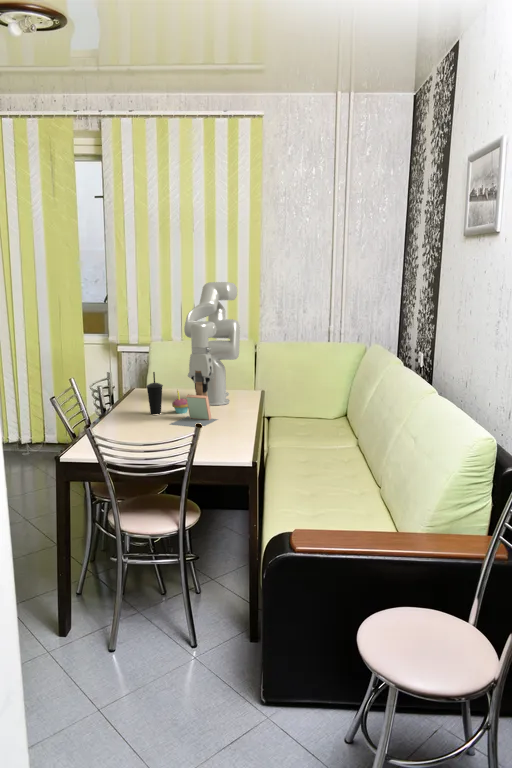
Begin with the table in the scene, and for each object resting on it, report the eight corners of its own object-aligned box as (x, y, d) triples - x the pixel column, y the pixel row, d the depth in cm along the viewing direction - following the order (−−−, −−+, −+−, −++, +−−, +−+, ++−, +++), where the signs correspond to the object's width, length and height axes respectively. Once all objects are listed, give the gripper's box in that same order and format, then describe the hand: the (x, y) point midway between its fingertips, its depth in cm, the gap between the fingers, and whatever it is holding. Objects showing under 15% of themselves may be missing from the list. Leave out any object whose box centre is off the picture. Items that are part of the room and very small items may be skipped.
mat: (187, 417, 284) (187, 416, 284) (218, 420, 278) (218, 419, 277) (168, 425, 270) (168, 424, 270) (200, 429, 263) (200, 427, 263)
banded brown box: (201, 398, 281) (200, 367, 279) (207, 398, 280) (206, 368, 277) (195, 400, 277) (194, 369, 274) (202, 400, 276) (201, 369, 273)
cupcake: (181, 416, 287) (180, 390, 284) (168, 414, 292) (167, 389, 289) (194, 412, 293) (193, 387, 291) (181, 410, 298) (180, 386, 296)
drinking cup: (161, 411, 297) (159, 370, 294) (165, 414, 290) (164, 372, 287) (146, 412, 295) (144, 371, 291) (149, 416, 288) (147, 373, 284)
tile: (192, 416, 282) (188, 394, 277) (211, 418, 278) (207, 396, 273) (189, 418, 280) (185, 396, 276) (209, 420, 276) (205, 398, 271)
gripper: (220, 350, 275) (221, 391, 278) (188, 349, 281) (189, 389, 285) (212, 352, 268) (213, 394, 271) (179, 351, 275) (181, 392, 278)
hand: (201, 391), depth 278 cm, fingers closed on banded brown box, 3 cm apart
